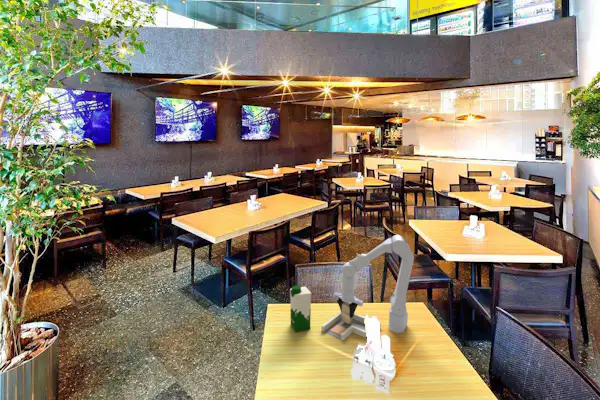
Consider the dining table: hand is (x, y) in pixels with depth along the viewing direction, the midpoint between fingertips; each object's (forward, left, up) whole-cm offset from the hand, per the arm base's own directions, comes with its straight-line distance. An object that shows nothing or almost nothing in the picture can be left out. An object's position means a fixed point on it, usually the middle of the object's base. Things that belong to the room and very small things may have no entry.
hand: (347, 315), depth 147 cm
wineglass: (-14, -7, -5) cm, 16 cm away
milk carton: (+15, -16, -5) cm, 23 cm away
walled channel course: (+3, +4, -5) cm, 7 cm away
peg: (0, 0, -3) cm, 3 cm away
